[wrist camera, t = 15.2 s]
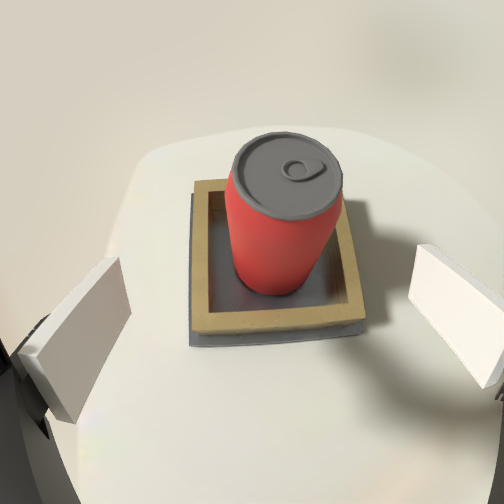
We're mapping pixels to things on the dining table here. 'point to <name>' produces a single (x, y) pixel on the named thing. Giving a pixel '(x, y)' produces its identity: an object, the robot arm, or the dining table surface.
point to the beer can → (281, 209)
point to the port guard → (261, 305)
